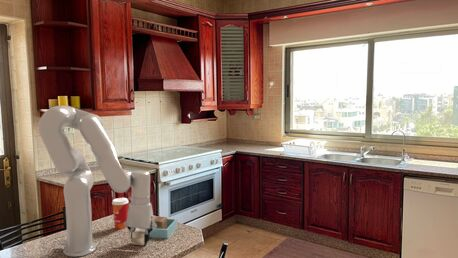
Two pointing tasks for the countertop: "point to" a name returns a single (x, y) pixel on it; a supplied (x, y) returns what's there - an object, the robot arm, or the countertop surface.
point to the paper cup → (120, 212)
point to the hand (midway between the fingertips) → (140, 241)
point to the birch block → (138, 237)
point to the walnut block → (160, 222)
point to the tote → (164, 230)
